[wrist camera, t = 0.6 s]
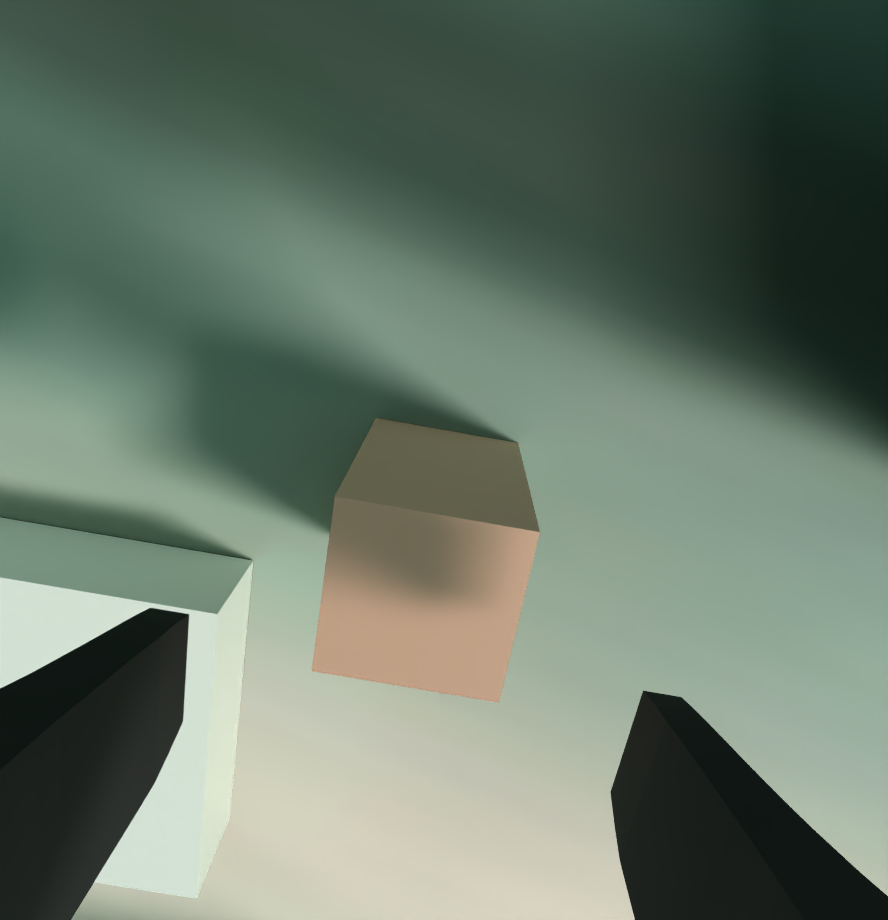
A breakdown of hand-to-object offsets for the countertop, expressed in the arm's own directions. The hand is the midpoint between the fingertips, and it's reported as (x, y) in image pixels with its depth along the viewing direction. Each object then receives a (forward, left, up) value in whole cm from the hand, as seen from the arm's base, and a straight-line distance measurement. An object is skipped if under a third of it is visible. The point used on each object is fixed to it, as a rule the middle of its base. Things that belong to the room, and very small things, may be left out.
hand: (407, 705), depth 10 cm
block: (0, 0, -9) cm, 9 cm away
